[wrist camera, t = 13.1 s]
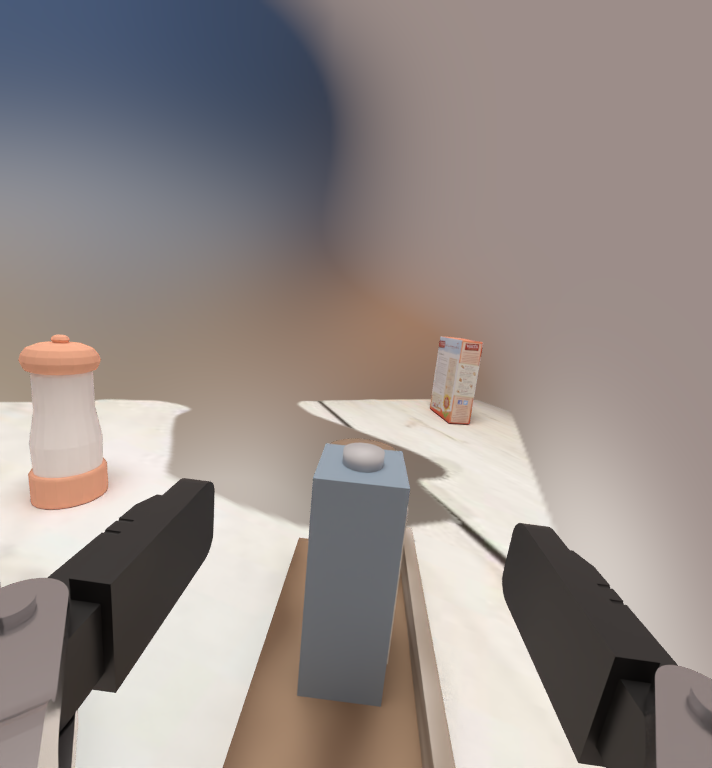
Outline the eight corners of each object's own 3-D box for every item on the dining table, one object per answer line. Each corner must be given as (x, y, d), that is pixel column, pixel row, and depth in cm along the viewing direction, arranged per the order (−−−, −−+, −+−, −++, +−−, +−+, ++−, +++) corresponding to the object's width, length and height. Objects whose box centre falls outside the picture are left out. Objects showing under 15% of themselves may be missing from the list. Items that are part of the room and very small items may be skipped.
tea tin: (296, 695, 21) (314, 463, 18) (311, 623, 26) (327, 431, 23) (383, 707, 21) (414, 474, 18) (381, 631, 25) (406, 440, 23)
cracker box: (471, 425, 87) (484, 341, 83) (448, 424, 86) (461, 339, 82) (449, 409, 101) (460, 337, 97) (429, 408, 100) (439, 335, 96)
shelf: (106, 1167, 10) (98, 1074, 9) (297, 555, 35) (300, 515, 35) (493, 1233, 10) (523, 1143, 9) (406, 567, 35) (411, 527, 34)
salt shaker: (106, 474, 48) (99, 333, 44) (110, 499, 42) (102, 339, 38) (33, 486, 43) (18, 330, 39) (27, 516, 37) (9, 337, 34)
